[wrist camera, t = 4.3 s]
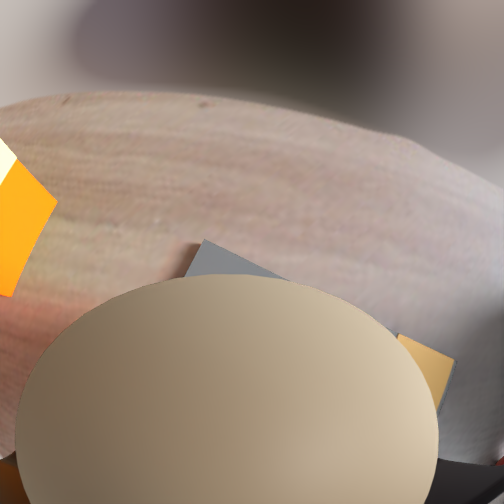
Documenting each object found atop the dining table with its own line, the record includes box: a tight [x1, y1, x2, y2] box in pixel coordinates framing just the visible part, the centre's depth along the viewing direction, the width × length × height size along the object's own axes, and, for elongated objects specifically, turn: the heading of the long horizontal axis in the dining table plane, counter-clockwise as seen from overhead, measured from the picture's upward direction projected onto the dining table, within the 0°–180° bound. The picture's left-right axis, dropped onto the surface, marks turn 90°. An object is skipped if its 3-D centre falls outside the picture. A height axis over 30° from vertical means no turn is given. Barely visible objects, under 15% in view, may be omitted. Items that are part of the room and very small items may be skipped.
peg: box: [15, 274, 439, 504], centre depth 9 cm, size 4×4×14 cm
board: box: [184, 239, 457, 417], centre depth 16 cm, size 14×20×1 cm
